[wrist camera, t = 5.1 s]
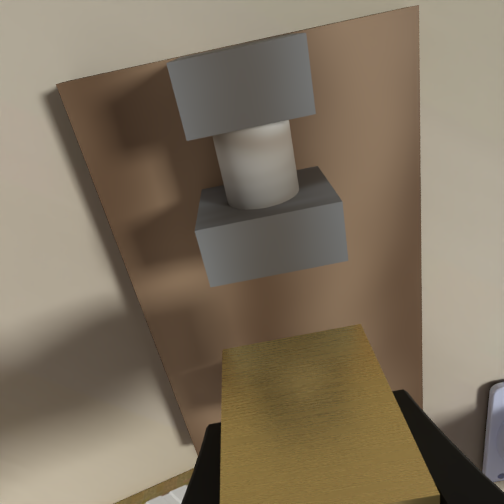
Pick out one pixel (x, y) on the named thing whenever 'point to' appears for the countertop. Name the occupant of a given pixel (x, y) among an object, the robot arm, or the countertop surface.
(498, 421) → the robot arm
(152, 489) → the baseboard molding
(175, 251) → the shaft base
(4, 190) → the countertop surface
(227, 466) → the block
